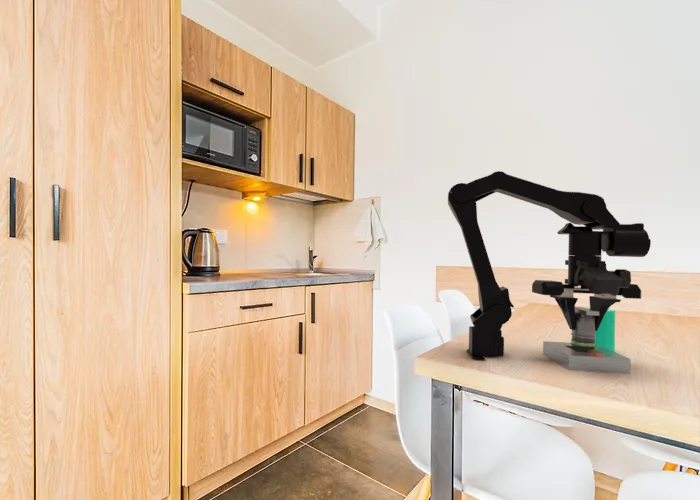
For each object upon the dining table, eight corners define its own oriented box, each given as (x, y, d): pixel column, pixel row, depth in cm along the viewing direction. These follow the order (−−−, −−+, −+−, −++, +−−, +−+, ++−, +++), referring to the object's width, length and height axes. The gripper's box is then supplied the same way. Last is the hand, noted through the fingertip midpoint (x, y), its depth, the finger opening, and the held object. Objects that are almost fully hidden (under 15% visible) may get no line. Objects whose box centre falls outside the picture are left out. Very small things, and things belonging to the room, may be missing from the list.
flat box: (561, 377, 64) (562, 354, 64) (526, 352, 80) (527, 335, 80) (654, 382, 62) (654, 359, 62) (600, 357, 78) (600, 338, 78)
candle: (620, 357, 78) (620, 305, 78) (590, 355, 79) (591, 303, 79) (606, 350, 84) (606, 301, 84) (579, 348, 85) (579, 300, 85)
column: (580, 349, 68) (581, 310, 68) (564, 341, 74) (564, 306, 74) (603, 351, 67) (604, 311, 67) (585, 342, 74) (585, 307, 74)
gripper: (556, 254, 64) (554, 337, 64) (664, 257, 62) (663, 342, 62) (531, 254, 75) (530, 325, 75) (622, 257, 73) (621, 329, 73)
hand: (583, 330), depth 71 cm, fingers closed on column, 4 cm apart
